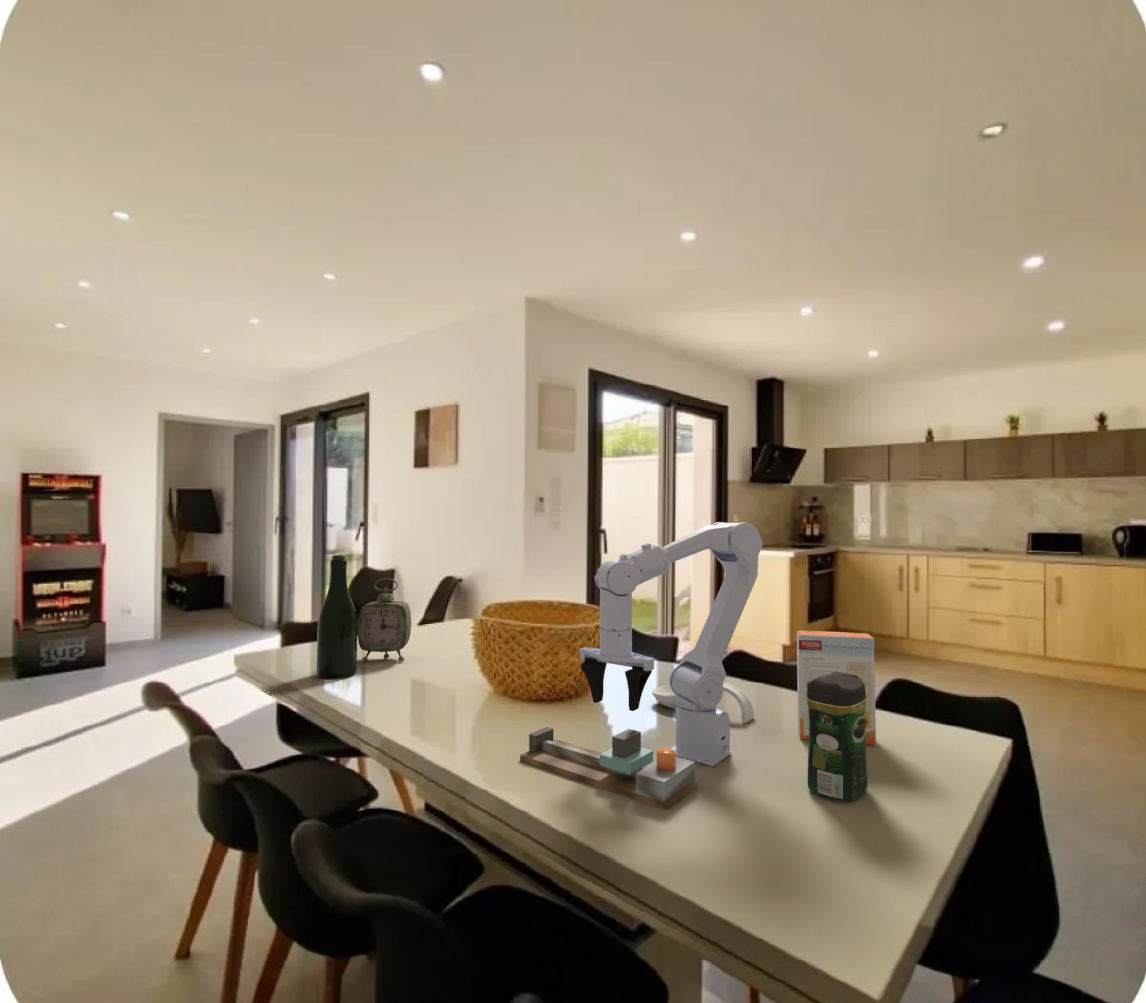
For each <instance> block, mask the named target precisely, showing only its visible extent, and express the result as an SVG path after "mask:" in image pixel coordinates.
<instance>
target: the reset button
mask: <svg viewBox="0 0 1146 1003" xmlns="http://www.w3.org/2000/svg"><path fill="white" fill-rule="evenodd" d="M676 757H677V756H676V752H675V750H673V749H671V748H668V747H662V748H661V747H660V748H658V749H657V750H656V761H657V768H658V769H659V770H662V771H673V770H675V769H676Z"/></svg>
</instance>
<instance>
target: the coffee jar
mask: <svg viewBox="0 0 1146 1003" xmlns="http://www.w3.org/2000/svg"><path fill="white" fill-rule="evenodd" d="M807 704H808V710H809V740H808V752H807V753H808V754H807V755H808V756H807V787H808V789H809V790H810V791H811V792H813V793H815V794H816V795H818V796H819V797H822V798H824V799H826V800H829V801H840V802H846V803H847V802H852V801H854V800H857V799H858V798H860V797H861V796H862V795H863V794H864V793H865V792H866V791H867V789H868V785H869V784H868V768H867V767H868V766H867V749H866V748H867V747H866V746H867V745H866V743H865V706H866V693H865V684H864V683H863V681H862V680H861V679H860V678H859V677H858V676H857V675H852V674H847V673H842V672H836V671H834V672H833V673H830V674H827V675H823V676H820V677H818V678H815V679H813V680H810V681H808V682H807Z"/></svg>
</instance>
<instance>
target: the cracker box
mask: <svg viewBox="0 0 1146 1003" xmlns="http://www.w3.org/2000/svg"><path fill="white" fill-rule="evenodd" d="M875 665H876V664H875V638H874V637H873V636H872V635H871V634H869V633H866V632H865V633H863V632H843V631H822V630H821V631H820V630H796V670H797V671H796V679H797V682H796V684H797V688H796V689H797V732H798V735H799V738H800V739H801V740H808V741H809V710H808V704H807V682H808V681H810V680H813V679H815V678H818V677H820V676H823V675H827V674H830V673H833V672H834V671H836V672H842V673H847V674H852V675H857V676H858V677H859V678H860V679H861V680H862V681H863V683H864V684H865V693H866V706H865V743H866V746H877V742H876V741H877V737H876V736H877V735H876V734H877V732H876V730H877V729H876V724H877V723H876V720H877V719H876V676H875V675H876V673H875V671H876V670H875V668H876V666H875Z"/></svg>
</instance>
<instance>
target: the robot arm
mask: <svg viewBox="0 0 1146 1003" xmlns="http://www.w3.org/2000/svg"><path fill="white" fill-rule="evenodd" d="M763 545H764V542H763V540H762V538H761V535H760V532H759V530H758V529H757V527H756V526H755V525H754V524H752V523H749V522H745V521H743V522H723V521H717V522H714V523H713V524H710V525H709V524H708V525H704V526H702V527H700V528H699V529H697V530H695V531H692V532H690V533H688V534H686V535H684V536H682V537H680V538H679V539H676V540H674V541H672V542H670V543H669V544H666V545H664V546H661V545H659V544H657V543H652V544H651V543H648V542H646V543H644V544H642V545H640V546H641V549H637V550H636V551H633V552H631V553H628V554H626V553H622V554H621V555H619V558H618V560H607V561H605V562H603V563H602V564H601V565H600V566H599V567H598V568H597V570H596V575H594V582H595V585H596V586H597V587H598V588H599V648H597V647H581V648H579V660H582V661H583V662H582V663H580V669H581V670H582V672H583V674H584V676H585V677H586V680H587V683H588V687H589V689H590V693H591V697H592V701H593V703H595V704H597V703H600V702H602V701H603V700H604V683H605V681H604V680H605V673H606V672H605V671H606V667H607V664H612V665H617V666H623V667H629V668H631V669H627V670H625V671H624V674H625V678H626V683H627V690H628V691H627V692H628V710H629V711H631V712H634V711H636V710H639V707H640V703H641V698H642V696H643V692H644V690H645V686H646V684H647V681H648V680H649V678H650V676H651V674H652V672H653V670H654V669H655V658H654V657H650V656H647V655H643V654H639V653H636V652H633V650H632V649H633V647H632V646H633V619H632V618H633V593H634V591H635V590H636V589H637V586H639V585H641V584H643V583H645V582H648V581H650V580H653V579H655V578H657V577H660V576H661V575H665V574H666V573H667V572H668V571H669V569H670V567H671V564H672V563H674V562H677V561H680V560H682V559H685V558H687V557H691V556H692V555H695V554H698V553H700V552H703V551H706V550H709V551H711V553H712V554H713V555H714V556H715V558H716V560H718V562H719V563H720V564H721V565H722V568H723V570H724V573H725V576H724V578H723V581H722V583H721V586H720V588H719V589H718V590H719V591H718V592H717V595H716V597H715V600H714V602H713V604H712V607H711V609H710V611H709V613H708V616H707V619H706V621H705V623H704V625H703V627H702V630H701V632H700V635H699V637H698V638H697V641H696V644H695V645H694V647H693V649H691V650H690V651H689V652H687V653H685V654H684V655H683V656H682V659H681V660H680V662H679V664H677V665H676V666H675V667H674V668H673V669H672V671H671V672H670V676H669V678H668V679H669V680H668V681H669V682H668V684H669V685H670V687H671V689H672V691H673V692H674V693H675V694H676V709H675V745H674V746H673V747H671V748H670V749H673V750H675V752H676V757H679V758H683V759H687V760H690V761H694V762H695V763H699V764H704V765H707V766H712V767H714V766H716V765H718V764H719V763H720V762H721V761H724V760H725V759H726V758H728V756H730V755H731V754H732V750H731V748H730V747H731V745H730V744H731V734H730V732H731V731H730V730H731V725H730V724H731V723H730V722H731V721H730V715H729V714H728V713H729V712H727V711H725V710H722V709H720V708H718V707H717V706H718V705H719V703H720V702H721V700H722V698H723V695H724V691H723V682H725V679H726V677H727V673H726V670H725V667H724V665H723V659H724V657H725V654H726V652H727V649H728V648H729V644H730V643H731V640H732V638H733V635H734V633H735V631H736V628H737V626H738V623H739V621H740V618H741V616H742V613H744V612H743V611H744V609H745V607H746V605H747V602H748V600H749V597H750V595H751V593H752V590H753V588H754V586H755V583H756V581H757V578H758V576H759V575H758V573H759V555H760V553H761V550H762V547H764V546H763Z"/></svg>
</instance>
